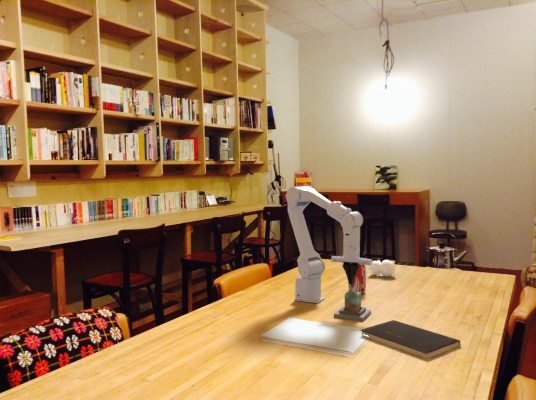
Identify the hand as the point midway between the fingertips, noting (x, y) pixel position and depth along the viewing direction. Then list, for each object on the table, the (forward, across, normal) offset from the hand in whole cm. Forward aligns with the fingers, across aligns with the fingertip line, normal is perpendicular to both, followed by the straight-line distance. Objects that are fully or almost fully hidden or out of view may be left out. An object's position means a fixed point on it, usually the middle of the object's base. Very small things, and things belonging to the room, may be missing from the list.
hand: (351, 283), depth 170 cm
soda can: (+10, -6, +25) cm, 27 cm away
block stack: (+8, +3, -6) cm, 11 cm away
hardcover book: (+10, +25, -23) cm, 35 cm away
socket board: (+9, +3, -7) cm, 12 cm away
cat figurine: (+10, -4, +59) cm, 60 cm away
